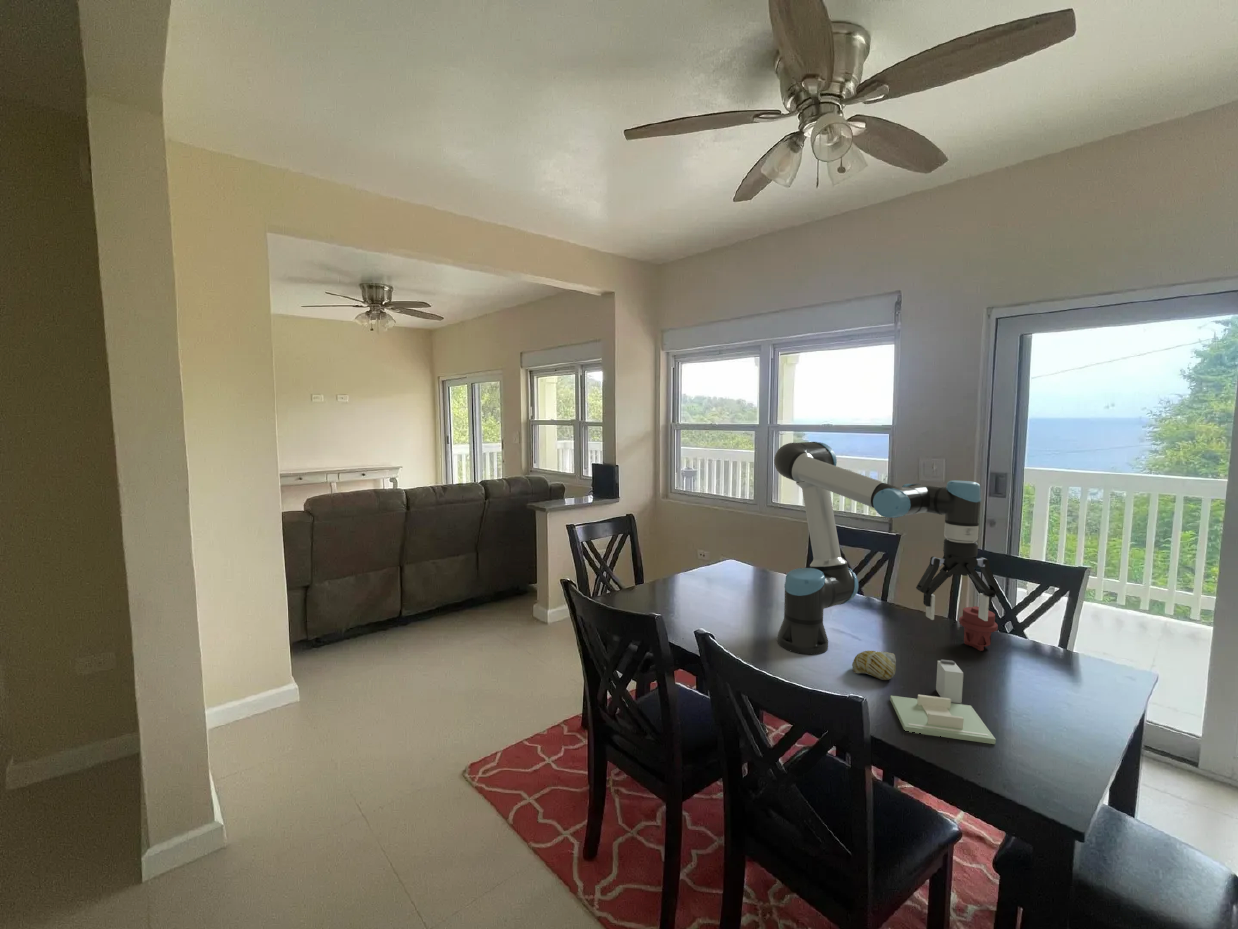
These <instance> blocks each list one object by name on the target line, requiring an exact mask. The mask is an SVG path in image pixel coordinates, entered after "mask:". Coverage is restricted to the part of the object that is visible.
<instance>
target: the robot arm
mask: <svg viewBox="0 0 1238 929" xmlns="http://www.w3.org/2000/svg"><path fill="white" fill-rule="evenodd" d="M837 460H838V459H837V454H836V453H835V451H834V449H833V448H832V447H831V446H829V445H828V444H826V443H824V442H818V441H804V442H802V441H801V442H789V443H786V444H784V445H782V446H781V447H780V448H778V450H777V451H776V452H775V455H774V460H773V461H774V462H773V463H774V466H775V469H776V471H777V472H778V473H779V475H781V476H782V477H784V478H786V479H789V480H791V481H794V482H795V484H796V485H797V486H798V487H800V488H801V491H802V497H803V502H804V509H805V514H806V515H805V516H806V521H807V527H808V533H809V538H810V539H809V540H810V545H811V551H812V556H813V560H812V561H811V563H810V564H809V567H804V568H802V567H798V568H794V569H792V570H789V572H787V573H786V575H785V581H784V602H783V603H784V606H783V610H784V611H783V612H784V614H783V620H782V622H781V625H780V628H779V631H778V632H777V643H778V644H780V645H781V646H780V647H782V648H783V649H786V650H787V651H790V650H791V651H790V652H792V651H793V653H797V654H802V655H819V654H824V653H825V652H827V650H828V649H829V638H828V636H827V632H826V628H825V626H824V625H825V624H824V609H828V608H831V607H834V606H835V607H836V606H838V605H839V606H840V605H843V604H844V605H845V603H847V602H849V601H852V600H853V599H854V598H855V597H856V595H857V593H858V591H859V579H858V576H857V575H856V573H855V572H854V571H853V569H851V568H849V565H848V560H846V559H844V558H843V557H842V555H841V548H840V543H839V537H838V532H837V525H836V518H835V513H834V509H833V508H834V507H833V502H832V495H831V493H834V494H837V495H839V496H842V497H844V498H847V499H849V500H852V501H855V502H857V503H860V504H862V505H865V506H868V507H870V508H873V509H874V510H875V511H876V512H877V513H878V515H880V516H881V517H884V518H893V519H895V518H900V517H903V516H910V515H917V514H921V513H925V514H926V513H928V514H936V515H942V516H944V529H943V531H944V532H943V536H944V538H945V539H943V548H942V551H943V557H942V558H941V557H936V556H931V557H930V559H929V565H928V566H927V568H926V570H925V571H924V573H923V575H922V577H921V578H920V580H919V581H918V583H917V585H916V587H915V588H916V590H917V591H919V592H921V593H923V600H922V601H923V603H922V604H923V605H924V606H925V617H926V618H928V619H929V620H931V621H934V620H935V611H936V609H935V607H936V595H935V594H934V593H935V592H936V591H937V590H938V589H939V587H941V586H942V585H943V583H944V582H946V580H947V579H949V578H951V577H952V576H958V577H959V576H966V577H967V576H969V577H970V578H971V580H972V581H973V582H974V583H975V584H976V585H977V587H978V588H979V589H980V591H981V592H982V593H981V592H980V593H979V598H978V599H979V600H978V607H979V614H978V617H979V618H981V619H982V620H984V621H988V610H989V609H990V608H992V605H993V603H992V602H993V598H995V597H996V595H1000V594H1001V593H1002V591H1001V589H1000V587H999V584H998V582H997V580H996V578H995V575H994V574H993V571H992V569H991V565H990V564H991V563H990V559H987V558H985V557H982V556H979V558H977V556H978V549H979V544H978V540H979V528H980V514H981V503H982V497H981V495H982V493H981V492H982V491H981V485H980V483H978V482H977V481H976V482H975V481H971V480H958V479H957V480H949V481H947V483H946V486H936V485H927V484H921V483H905V484H903V485H902V486H901V487H900V486H896V485H893V484H889V483H886V482H883V481H881V480H878V479H875V478H872V477H869V476H866V475H864V474H861V473H857V472H854V471H851V470H848V469H846V468H843V467H840V466H837V462H838V461H837ZM942 565H943V566H942ZM941 566H942V567H941ZM977 566H978V567H979V568H980V571H981V573H982V575H983V577H984V580H985V581H984V580H983V578H981V576H980V574H979V573H978V572H977V570H975V569H976V567H977ZM940 567H941V568H940ZM938 570H939V572H938ZM936 573H937V574H936Z"/></svg>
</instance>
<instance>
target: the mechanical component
mask: <svg viewBox="0 0 1238 929" xmlns="http://www.w3.org/2000/svg"><path fill="white" fill-rule="evenodd" d="M978 614H979V605H978V606H974V605H973V606H968V607H964V608H962V616H960V617H959V618H958V623H959V624H960V626H962V627H963V642H964V643H963V644H965V645H966V646H969V647H973V648H974V649H976V650H977V651H980V652H981V651H982V652H983V651H984V650H985V649H984V648H985V647H988V646H990V645H991V640H992V637H991V636H992V633H995V632H997V631H998V623H997V622H996V614H995V612H993V611H990V610H989V609H988V621H984V620H982V619H981V618H979V617H978Z"/></svg>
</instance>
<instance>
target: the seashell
mask: <svg viewBox="0 0 1238 929" xmlns="http://www.w3.org/2000/svg"><path fill="white" fill-rule="evenodd" d="M896 664H897V658H896V655H895V654H894V653H893V652H892V653H891V652H887V651H876V650H863V651H861V652H859V653H858V654H857V655H856V656H855V657H854V658H853V660H852V664H851V666H852V672H853V673H854V674H867V675H869V676H871V677H873V678H875V679H879V680H881V681H888V680H890V679H893V677H894V676H895V674H896Z"/></svg>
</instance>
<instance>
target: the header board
mask: <svg viewBox="0 0 1238 929" xmlns="http://www.w3.org/2000/svg"><path fill="white" fill-rule="evenodd" d="M889 698H890V699H889V700H890V702H891V705H892V707H893V709H894V711H895V713H896V716H897V718H898V719H899V722H900V724H901V726H902V729H903V730H905V731H909V732H908V733H912V732H915V733H914V734H919V733H921V734H920V735H926V736H933V737H940V736H941V738H948V739H955V740H963V741H970V742H977V743H984V744H990V745H991V744H992V745H996V741H997V739H996V738H995V736H994V735H993V734H992V732H991V731H990V730H989V728H988V727H987V725H986V724H985V723H984V722H983V720H982V719H981V717H980V716H979V714H978V713H977V711H975V709H974V708H973V706H972V705H968V704H963V703H953V702H951V699H950V698H943V697H940V696H935V695H925V694H917V698H912V697H906V696H905V697H904V696H898V695H890V697H889ZM905 731H904V732H905Z"/></svg>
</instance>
